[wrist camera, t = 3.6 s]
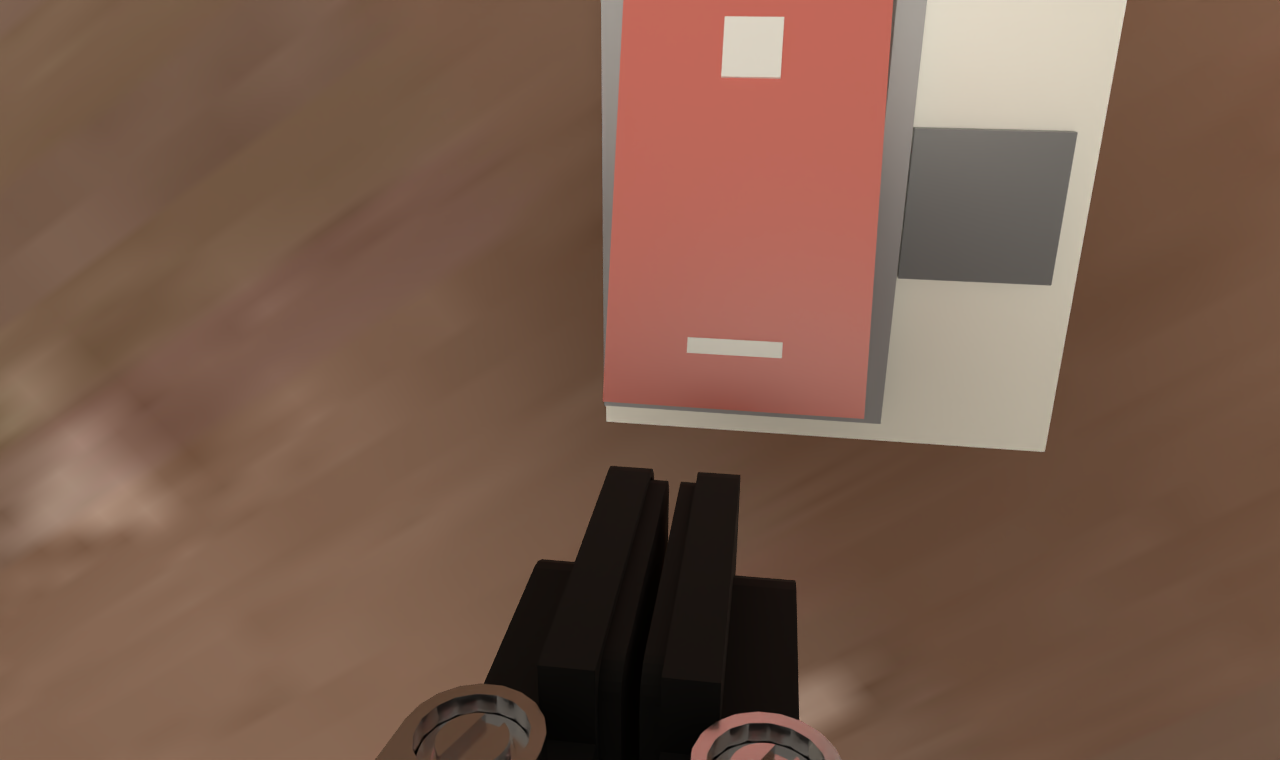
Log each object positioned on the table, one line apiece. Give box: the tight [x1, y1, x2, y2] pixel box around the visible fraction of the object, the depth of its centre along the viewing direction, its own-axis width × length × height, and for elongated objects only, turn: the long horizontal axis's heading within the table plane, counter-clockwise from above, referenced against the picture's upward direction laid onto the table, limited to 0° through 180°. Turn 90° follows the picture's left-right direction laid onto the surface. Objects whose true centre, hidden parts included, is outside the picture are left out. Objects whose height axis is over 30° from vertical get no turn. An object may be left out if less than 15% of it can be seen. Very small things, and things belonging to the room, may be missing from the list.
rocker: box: [603, 0, 893, 419], centre depth 19 cm, size 5×8×3 cm, turn 0°
